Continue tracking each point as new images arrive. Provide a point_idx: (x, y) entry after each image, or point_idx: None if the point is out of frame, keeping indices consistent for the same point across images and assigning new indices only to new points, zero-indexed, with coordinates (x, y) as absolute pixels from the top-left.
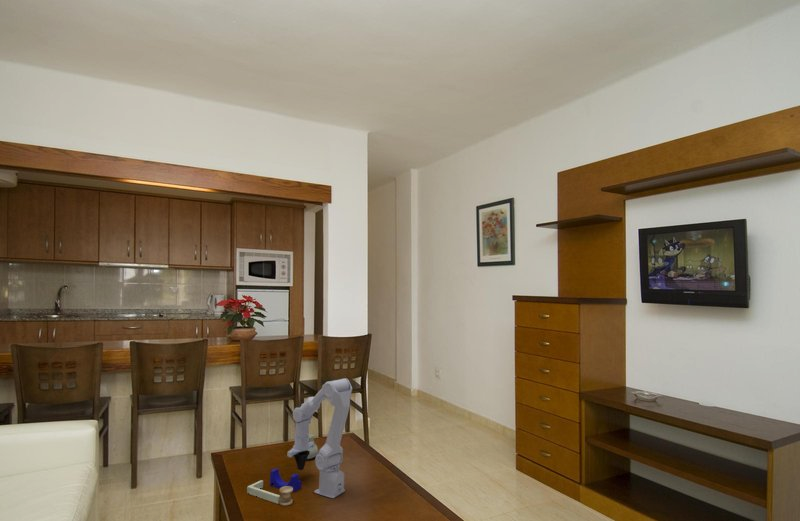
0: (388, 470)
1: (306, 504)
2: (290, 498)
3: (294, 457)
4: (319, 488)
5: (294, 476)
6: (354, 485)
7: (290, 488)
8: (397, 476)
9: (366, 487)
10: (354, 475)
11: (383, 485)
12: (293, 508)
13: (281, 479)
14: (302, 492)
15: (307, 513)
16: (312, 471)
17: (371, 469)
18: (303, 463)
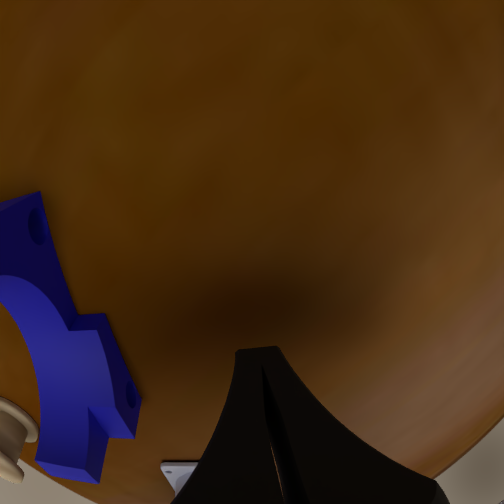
0: (472, 442)
1: None
2: (32, 430)
3: (185, 485)
4: (177, 491)
5: (57, 474)
6: None
7: (11, 476)
8: (435, 474)
9: None
10: (422, 435)
11: None
12: (30, 450)
13: (34, 289)
14: None
15: (62, 483)
16: (420, 268)
17: (479, 419)
18: (273, 453)
